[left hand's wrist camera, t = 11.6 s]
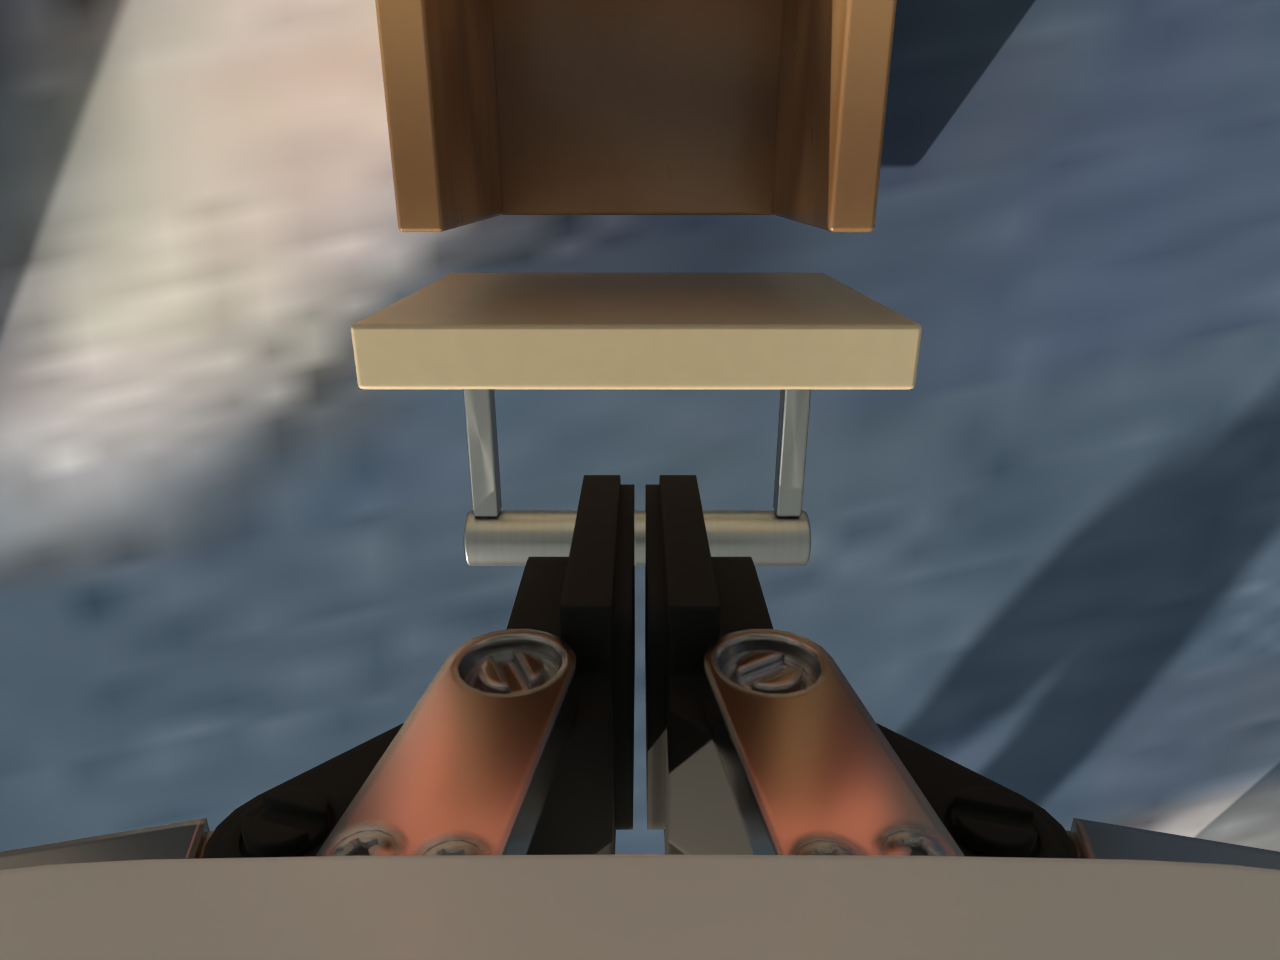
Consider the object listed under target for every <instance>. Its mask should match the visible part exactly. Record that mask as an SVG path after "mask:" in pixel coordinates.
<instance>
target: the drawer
mask: <svg viewBox="0 0 1280 960" xmlns="http://www.w3.org/2000/svg"><path fill="white" fill-rule="evenodd" d="M375 2H376V12H377V22H378V32H379V41H380V51H381V61H382V71H383V81H384V91H385V101H386V111H387V120H388V130H389V140H390V150H391V160H392V170H393V180H394V190H395V199H396V209H397V219H398V228H399V230H400V231H402V232H442V231H445V230H449V229H452V228H456V227H459V226H463V225H466V224H470V223H474V222H477V221H481V220H484V219H488V218H491V217H495V216H498V215H777V216H780V217H784V218H787V219H791V220H794V221H797V222H801V223H804V224H808V225H811V226H815V227H818V228H821V229H825V230H828V231H832V232H870V231H873V229H874V227H875V217H876V207H877V197H878V187H879V176H880V166H881V156H882V146H883V136H884V126H885V116H886V106H887V95H888V85H889V75H890V65H891V55H892V45H893V35H894V25H895V14H896V4H897V0H375ZM351 332H352V340H353V348H354V356H355V364H356V372H357V380H358V385H359V387H360V388H362V389H463V392H464V405H465V417H466V430H467V443H468V455H469V468H470V480H471V493H472V506H473V511H470V512H469V513H468V515H467V517H466V521H465V527H464V553H465V558H466V561H467V563H468V564H469V565H471V566H526V562H527V560H528V557H569V553H570V548H571V543H572V537H573V532H574V527H575V521H576V516H577V511H500V510H501V507H502V504H501V488H500V473H499V458H498V443H497V427H496V412H495V397H494V389H781V392H780V408H779V423H778V439H777V455H776V471H775V486H774V502H773V507H774V510H775V511H703V516H704V521H705V527H706V532H707V537H708V543H709V548H710V553H711V557H752V560H753V562H754V566H804V565H806V564H807V563H808V560H809V556H810V549H811V530H810V523H809V518H808V515H807V513H806V512H805V511H802V499H803V486H804V473H805V460H806V448H807V435H808V422H809V409H810V396H811V389H912V388H914V386H915V381H916V373H917V365H918V357H919V349H920V341H921V333H922V327H921V325H920V324H918V323H916V322H914V321H912V320H910V319H908V318H906V317H905V316H903V315H901V314H899V313H897V312H895V311H893V310H891V309H890V308H888V307H886V306H884V305H882V304H880V303H878V302H876V301H875V300H873V299H871V298H869V297H867V296H865V295H863V294H861V293H860V292H858V291H856V290H854V289H852V288H850V287H848V286H846V285H845V284H843V283H841V282H839V281H837V280H835V279H833V278H831V277H830V276H828V275H826V274H824V273H451V274H449V275H447V276H446V277H444V278H442V279H440V280H438V281H436V282H434V283H432V284H430V285H428V286H426V287H424V288H422V289H421V290H419V291H417V292H415V293H413V294H411V295H409V296H407V297H405V298H403V299H401V300H399V301H397V302H396V303H394V304H392V305H390V306H388V307H386V308H384V309H382V310H380V311H378V312H376V313H374V314H372V315H371V316H369V317H367V318H365V319H363V320H361V321H359V322H357V323H355V324H353V325H352V327H351ZM634 566H646V511H634Z"/></svg>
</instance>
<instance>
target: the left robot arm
mask: <svg viewBox="0 0 1280 960" xmlns="http://www.w3.org/2000/svg"><path fill="white" fill-rule="evenodd" d="M634 677H635V567H634V485H620V475H584V479H583V484H582V489H581V495H580V500H579V505H578V511H577V516H576V521H575V527H574V532H573V537H572V543H571V548H570V553H569V557H528V560H527V562H526V566H525V569H524V572H523V576H522V579H521V583H520V586H519V589H518V593H517V596H516V600H515V603H514V606H513V610H512V613H511V617H510V620H509V623H508V627H507V629H506V630H500V631H494V632H490V633H487V634H484V635H481V636H478V637H475V638H473V639H471V640H469V641H467V642H466V643H464V644H462V645H461V646H459V647H458V648H457V649H456V650H455V651H454V652H453V653H452V654H451V655H450V656H449V657H448V658H447V660H446V661H445V663H444V664H443V666H442V667H441V669H440V670H439V672H438V673H437V675H436V676H435V678H434V679H433V681H432V682H431V684H430V685H429V687H428V688H427V690H426V691H425V693H424V694H423V696H422V697H421V699H420V700H419V702H418V703H417V705H416V706H415V708H414V709H413V711H412V712H411V714H410V715H409V717H408V718H407V720H406V721H405V723H403V724H401V725H399V726H397V727H395V728H393V729H391V730H389V731H387V732H385V733H383V734H381V735H379V736H377V737H375V738H373V739H371V740H369V741H367V742H365V743H363V744H361V745H359V746H357V747H355V748H353V749H351V750H349V751H347V752H345V753H343V754H341V755H339V756H337V757H335V758H333V759H331V760H328V761H326V762H324V763H322V764H320V765H318V766H316V767H314V768H312V769H310V770H308V771H306V772H304V773H302V774H300V775H298V776H296V777H294V778H292V779H290V780H288V781H286V782H284V783H282V784H280V785H278V786H276V787H274V788H272V789H270V790H268V791H266V792H264V793H262V794H260V795H258V796H257V797H255V798H253V799H252V800H250V801H248V802H247V803H245V804H244V805H242V806H240V807H239V808H237V809H236V810H234V811H233V812H232V813H231V814H230V815H229V816H228V817H227V818H226V819H225V820H224V821H223V822H221V823H220V824H219V825H218V826H217V828H216V829H215V831H209V827H208V822H207V818H203V819H197V820H191V821H185V822H179V823H173V824H167V825H161V826H155V827H149V828H143V829H137V830H131V831H124V832H118V833H112V834H106V835H100V836H94V837H88V838H82V839H76V840H70V841H64V842H58V843H52V844H45V845H39V846H33V847H27V848H21V849H15V850H9V851H3V852H0V960H1280V852H1277V851H1271V850H1265V849H1259V848H1253V847H1247V846H1241V845H1235V844H1228V843H1222V842H1216V841H1210V840H1204V839H1198V838H1192V837H1186V836H1180V835H1174V834H1168V833H1162V832H1156V831H1149V830H1143V829H1137V828H1131V827H1125V826H1119V825H1113V824H1107V823H1101V822H1095V821H1089V820H1083V819H1077V818H1073V822H1072V827H1071V831H1065V829H1064V828H1063V826H1062V825H1061V824H1060V823H1059V822H1057V821H1056V820H1055V819H1054V818H1053V817H1052V816H1051V815H1050V814H1049V813H1048V812H1047V811H1046V810H1044V809H1043V808H1041V807H1040V806H1038V805H1036V804H1035V803H1033V802H1032V801H1030V800H1028V799H1027V798H1025V797H1023V796H1022V795H1020V794H1018V793H1016V792H1014V791H1012V790H1010V789H1008V788H1006V787H1004V786H1002V785H1000V784H998V783H996V782H994V781H992V780H990V779H988V778H986V777H984V776H982V775H980V774H978V773H976V772H974V771H972V770H970V769H968V768H966V767H964V766H962V765H960V764H958V763H956V762H954V761H952V760H949V759H947V758H945V757H943V756H941V755H939V754H937V753H935V752H933V751H931V750H929V749H927V748H925V747H923V746H921V745H919V744H917V743H915V742H913V741H911V740H909V739H907V738H905V737H903V736H901V735H899V734H897V733H895V732H893V731H891V730H889V729H887V728H885V727H883V726H881V725H879V724H877V723H875V721H874V720H873V718H872V717H871V715H870V714H869V712H868V711H867V709H866V708H865V706H864V705H863V703H862V702H861V700H860V699H859V697H858V696H857V694H856V693H855V691H854V690H853V688H852V687H851V685H850V684H849V682H848V681H847V679H846V678H845V676H844V675H843V673H842V672H841V670H840V669H839V667H838V666H837V664H836V663H835V661H834V660H833V658H832V657H831V656H830V655H829V654H828V653H827V652H826V651H825V650H824V649H823V648H822V647H821V646H819V645H818V644H816V643H814V642H813V641H811V640H809V639H807V638H805V637H802V636H799V635H796V634H793V633H790V632H786V631H780V630H774V629H773V627H772V623H771V620H770V617H769V613H768V610H767V606H766V603H765V600H764V596H763V593H762V589H761V586H760V583H759V579H758V576H757V572H756V569H755V566H754V562H753V560H752V557H711V553H710V548H709V543H708V537H707V532H706V527H705V521H704V516H703V511H702V505H701V500H700V495H699V489H698V484H697V479H696V475H660V485H646V567H645V677H646V769H647V829H664V837H665V855H650V854H630V855H615V837H616V829H633V768H634Z"/></svg>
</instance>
